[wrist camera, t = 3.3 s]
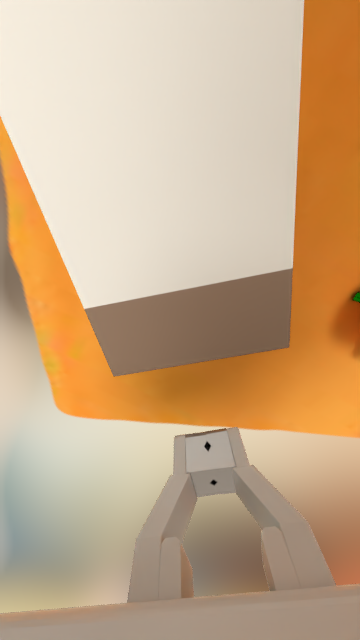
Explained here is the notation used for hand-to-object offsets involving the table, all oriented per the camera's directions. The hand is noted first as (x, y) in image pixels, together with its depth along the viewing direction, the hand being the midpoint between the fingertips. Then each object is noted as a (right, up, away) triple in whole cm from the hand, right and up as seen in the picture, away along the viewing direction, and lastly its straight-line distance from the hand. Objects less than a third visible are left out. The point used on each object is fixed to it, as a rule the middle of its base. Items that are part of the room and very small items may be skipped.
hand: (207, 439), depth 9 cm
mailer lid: (-3, +16, +6) cm, 17 cm away
